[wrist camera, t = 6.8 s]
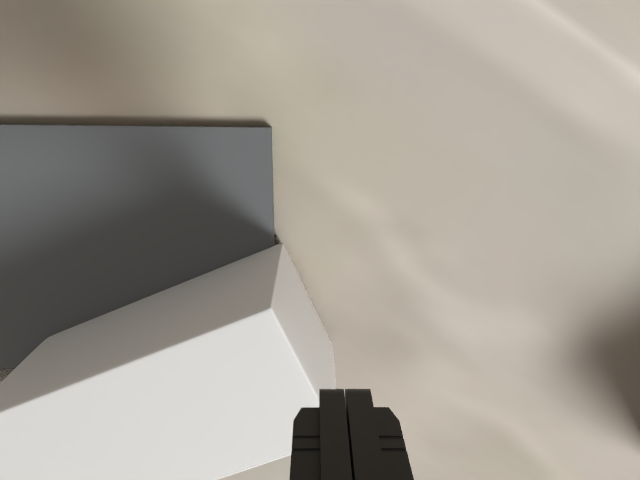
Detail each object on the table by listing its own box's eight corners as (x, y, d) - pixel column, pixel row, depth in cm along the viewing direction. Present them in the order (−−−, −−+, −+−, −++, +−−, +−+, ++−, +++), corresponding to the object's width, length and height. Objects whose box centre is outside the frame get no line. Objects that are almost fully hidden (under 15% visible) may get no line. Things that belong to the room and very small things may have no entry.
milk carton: (343, 439, 19) (-21, 561, 21) (336, 345, 26) (59, 446, 28) (274, 304, 17) (-126, 458, 19) (285, 240, 23) (-12, 359, 26)
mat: (-97, 122, 22) (-106, 123, 21) (271, 126, 22) (270, 127, 21) (-23, 363, 26) (-30, 368, 26) (277, 364, 27) (276, 369, 26)
